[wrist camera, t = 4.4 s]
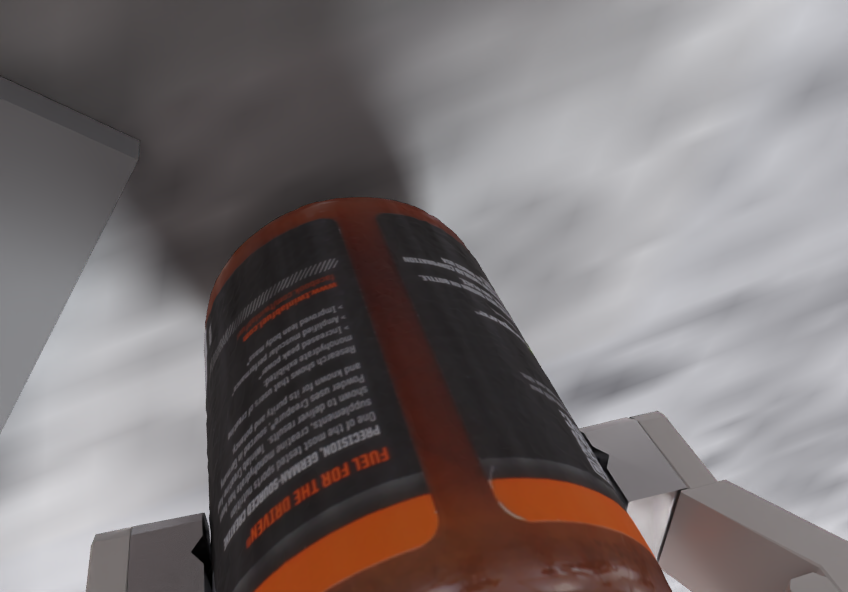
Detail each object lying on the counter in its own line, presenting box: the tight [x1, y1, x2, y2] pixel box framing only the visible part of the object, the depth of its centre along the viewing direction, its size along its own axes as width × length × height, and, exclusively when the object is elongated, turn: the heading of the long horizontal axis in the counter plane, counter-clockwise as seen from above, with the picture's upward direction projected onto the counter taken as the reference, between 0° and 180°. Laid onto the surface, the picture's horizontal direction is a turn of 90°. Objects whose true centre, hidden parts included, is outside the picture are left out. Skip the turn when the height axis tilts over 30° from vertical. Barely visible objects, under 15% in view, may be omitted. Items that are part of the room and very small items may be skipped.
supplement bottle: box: [204, 197, 672, 592], centre depth 11 cm, size 6×6×11 cm
